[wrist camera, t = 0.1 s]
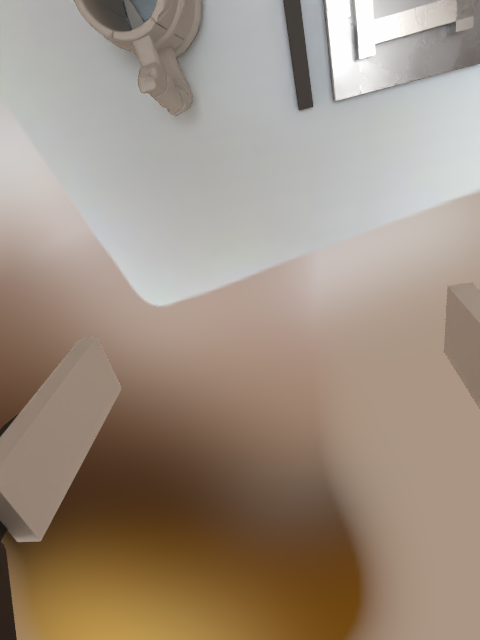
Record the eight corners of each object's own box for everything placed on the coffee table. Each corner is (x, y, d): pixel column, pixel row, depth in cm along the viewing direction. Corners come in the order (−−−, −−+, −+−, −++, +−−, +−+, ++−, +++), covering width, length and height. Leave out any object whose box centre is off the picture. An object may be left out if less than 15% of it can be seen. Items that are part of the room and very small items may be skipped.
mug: (183, -75, 29) (131, -164, 19) (232, 96, 35) (213, 98, 24) (97, -32, 31) (7, -91, 21) (157, 124, 37) (109, 138, 26)
